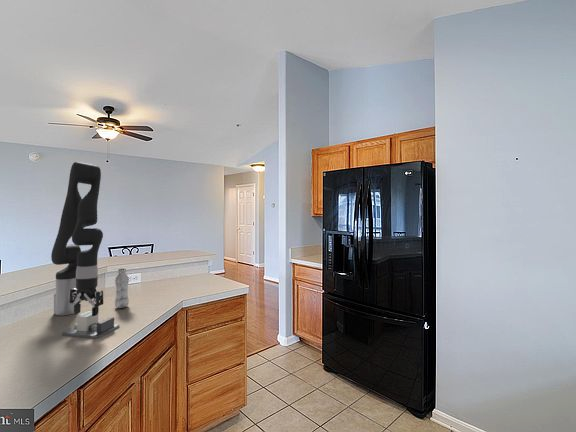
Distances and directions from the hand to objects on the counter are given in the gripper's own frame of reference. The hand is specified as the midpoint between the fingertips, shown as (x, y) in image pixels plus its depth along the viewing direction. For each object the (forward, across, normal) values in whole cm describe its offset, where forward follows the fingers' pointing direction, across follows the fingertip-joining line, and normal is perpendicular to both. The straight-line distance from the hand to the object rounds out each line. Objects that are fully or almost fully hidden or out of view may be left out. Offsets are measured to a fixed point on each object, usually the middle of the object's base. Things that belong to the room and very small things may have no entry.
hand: (86, 314), depth 122 cm
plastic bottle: (+7, -7, +28) cm, 30 cm away
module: (+6, +1, 0) cm, 6 cm away
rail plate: (+7, +3, 0) cm, 7 cm away
